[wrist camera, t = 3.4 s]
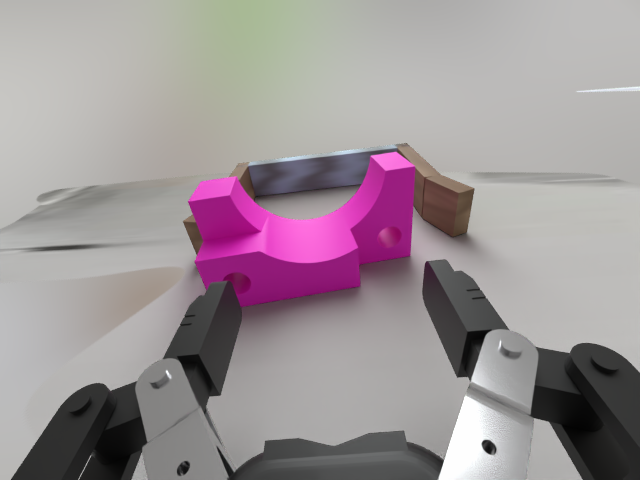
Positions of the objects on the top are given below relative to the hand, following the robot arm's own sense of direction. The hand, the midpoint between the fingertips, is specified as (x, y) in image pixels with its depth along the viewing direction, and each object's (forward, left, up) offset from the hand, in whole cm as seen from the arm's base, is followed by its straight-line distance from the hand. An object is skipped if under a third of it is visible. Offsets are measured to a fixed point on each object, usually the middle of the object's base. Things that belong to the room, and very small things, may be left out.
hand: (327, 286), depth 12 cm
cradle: (0, +19, -6) cm, 20 cm away
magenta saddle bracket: (-1, +9, -6) cm, 11 cm away
